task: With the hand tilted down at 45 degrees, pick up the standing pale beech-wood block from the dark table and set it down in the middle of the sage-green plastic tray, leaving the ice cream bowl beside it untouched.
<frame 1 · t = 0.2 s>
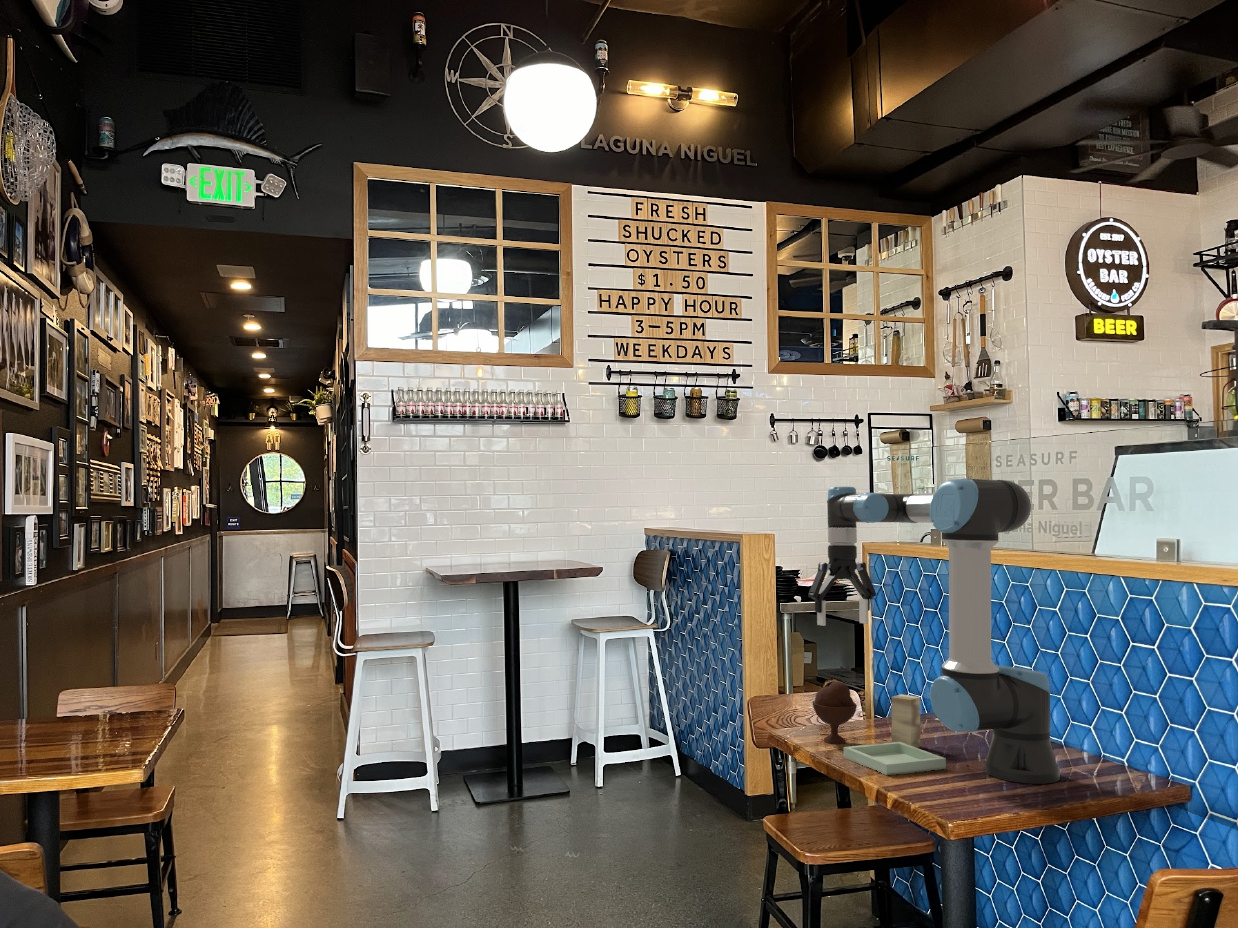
hand: (842, 624, 243), 28 cm above the table, tool pointing down, fingers open, 13 cm apart
ice cream bowl: (834, 742, 229), on the table
block: (906, 746, 225), on the table
tray: (893, 763, 209), on the table
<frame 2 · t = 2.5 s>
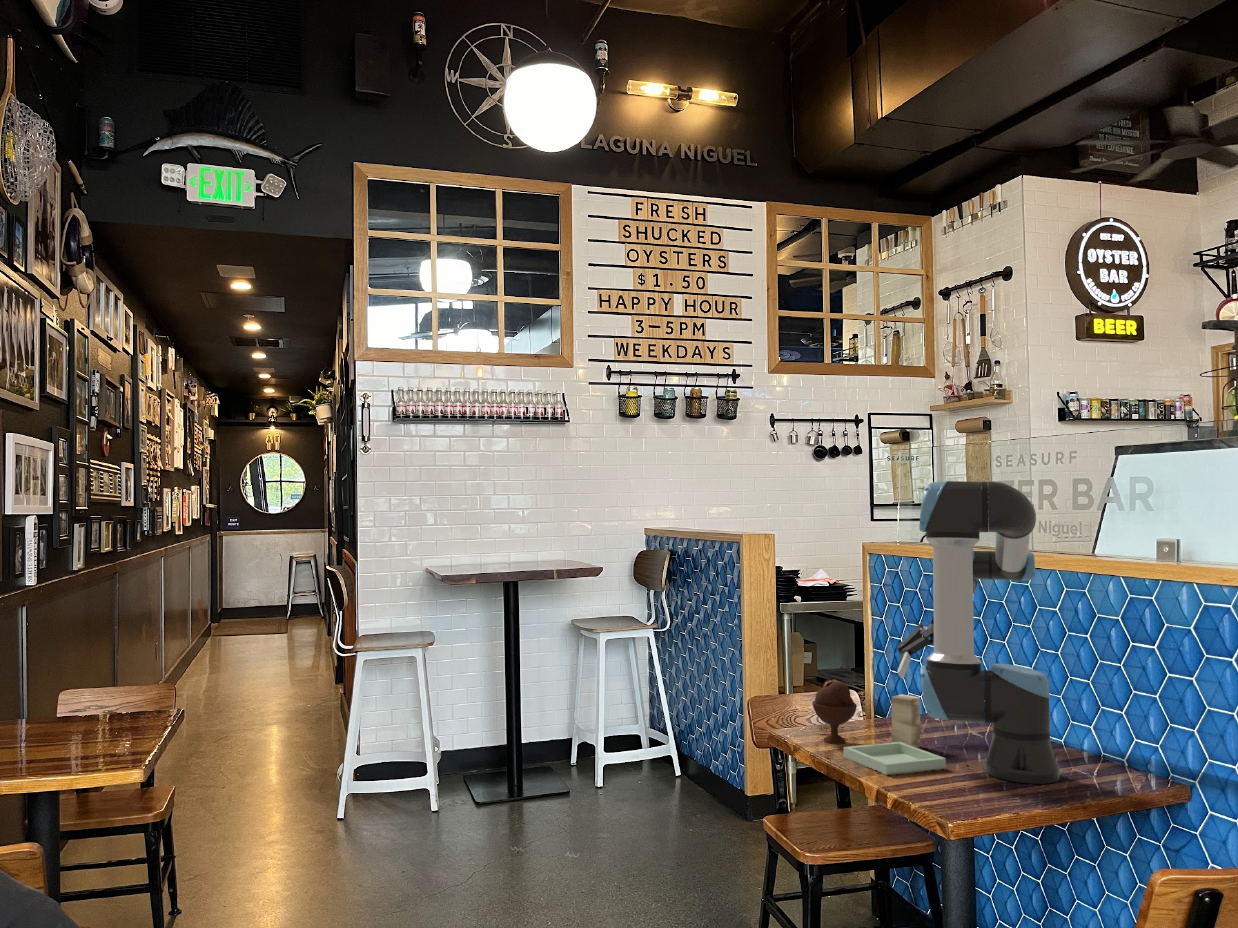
hand: (924, 678, 233), 15 cm above the table, tool tilted 45°, fingers open, 13 cm apart
nothing on the table moved.
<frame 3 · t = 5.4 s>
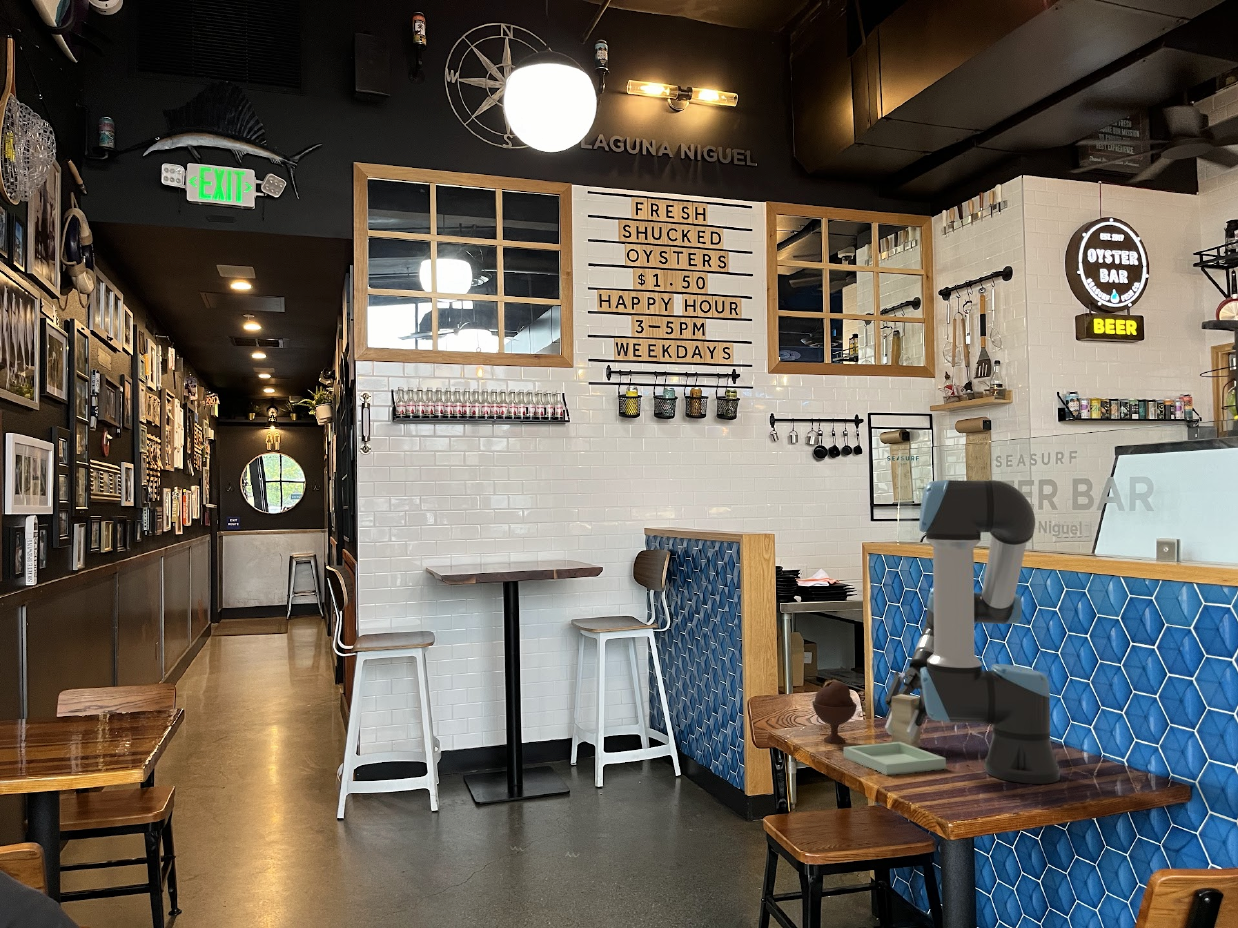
hand: (898, 732, 222), 4 cm above the table, tool tilted 45°, fingers closed on block, 5 cm apart
block: (906, 746, 225), on the table, touching gripper
everything else where it was.
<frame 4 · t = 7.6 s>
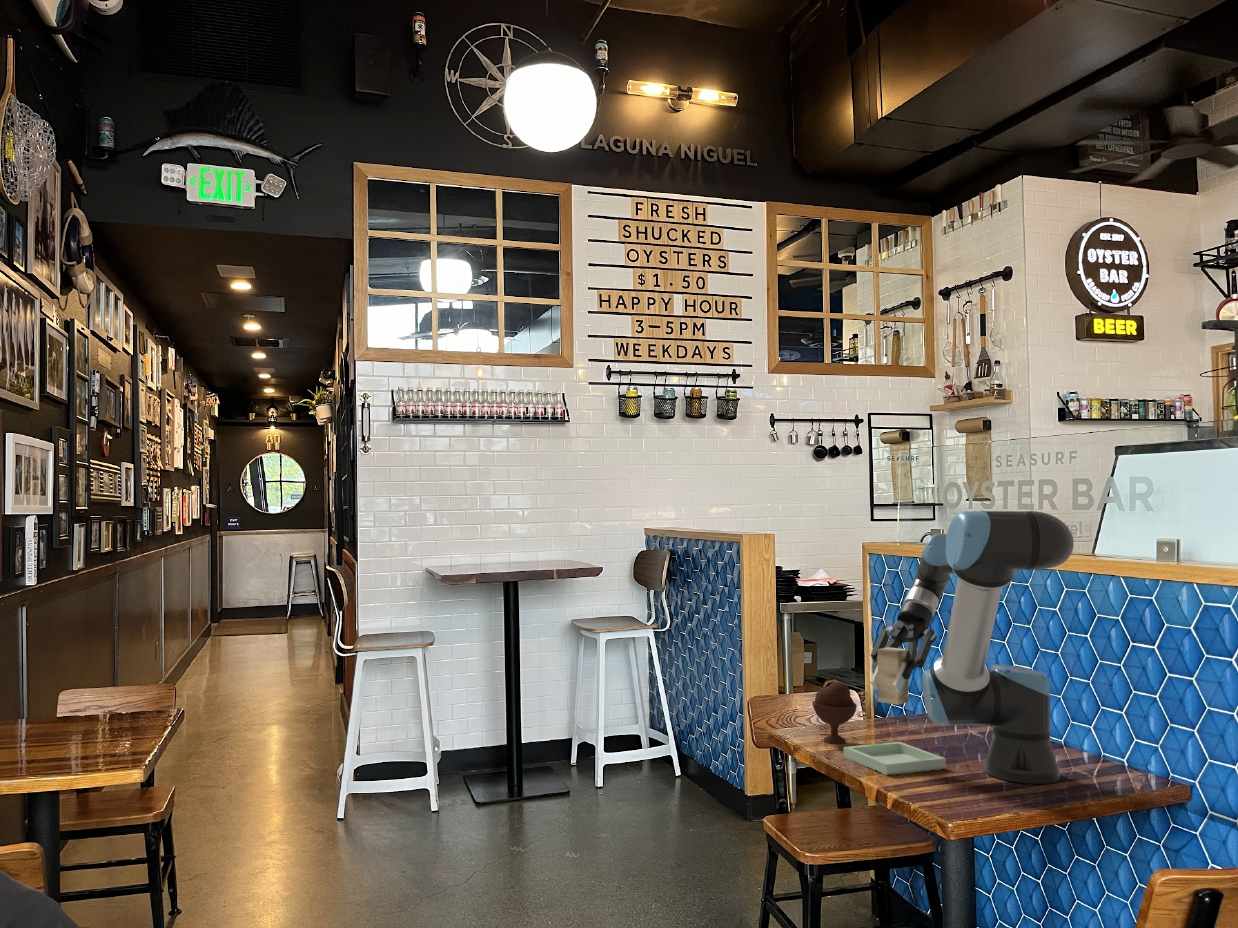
hand: (885, 686, 209), 17 cm above the table, tool tilted 45°, fingers closed on block, 5 cm apart
block: (893, 701, 211), point 14 cm above the table, touching gripper
everything else where it was.
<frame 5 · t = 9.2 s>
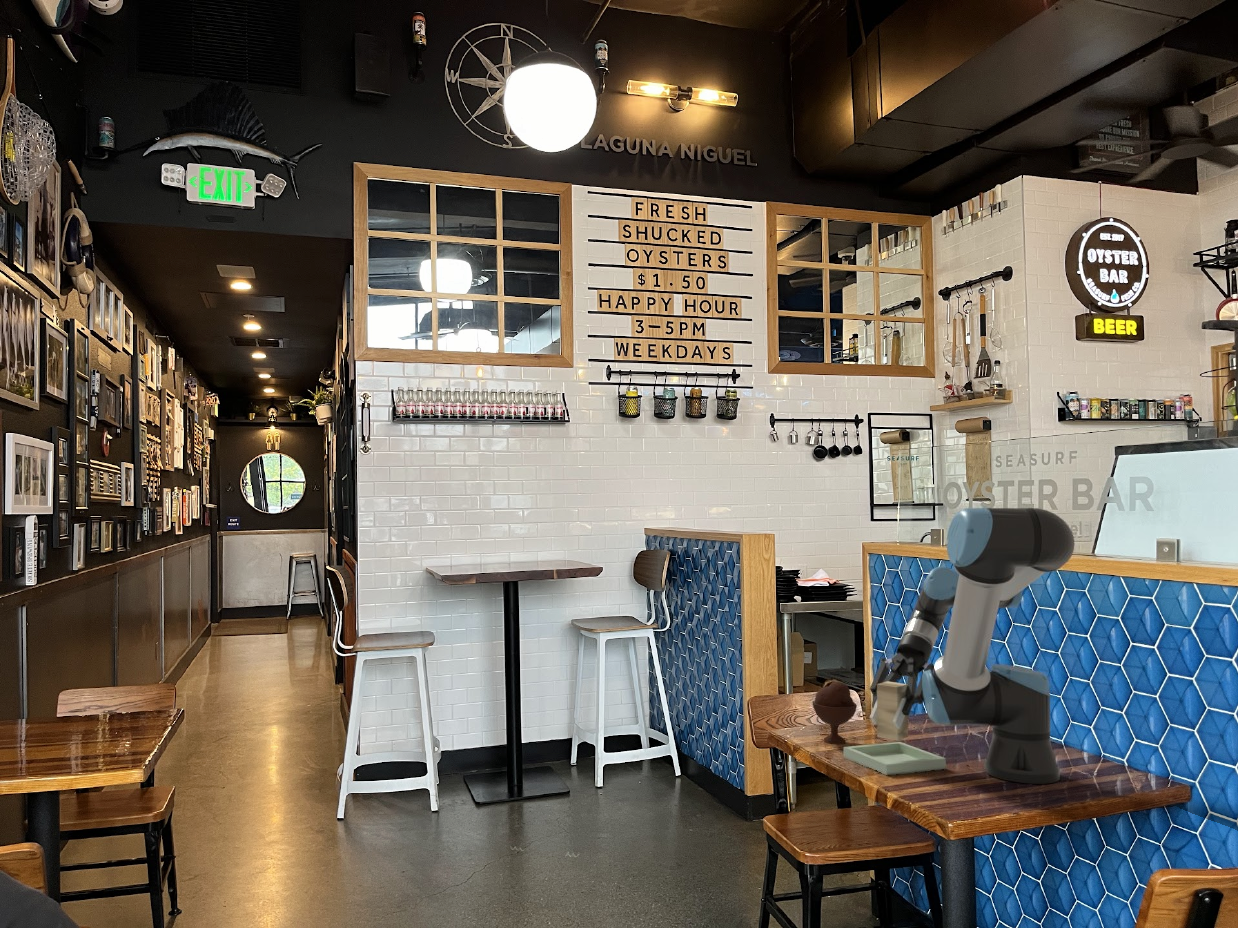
hand: (884, 722, 208), 10 cm above the table, tool tilted 45°, fingers closed on block, 5 cm apart
block: (892, 736, 210), point 6 cm above the table, touching gripper
everything else where it was.
when the fingers open (6 cm above the table, at t = 10.2 s): block drops 2 cm, resting on tray.
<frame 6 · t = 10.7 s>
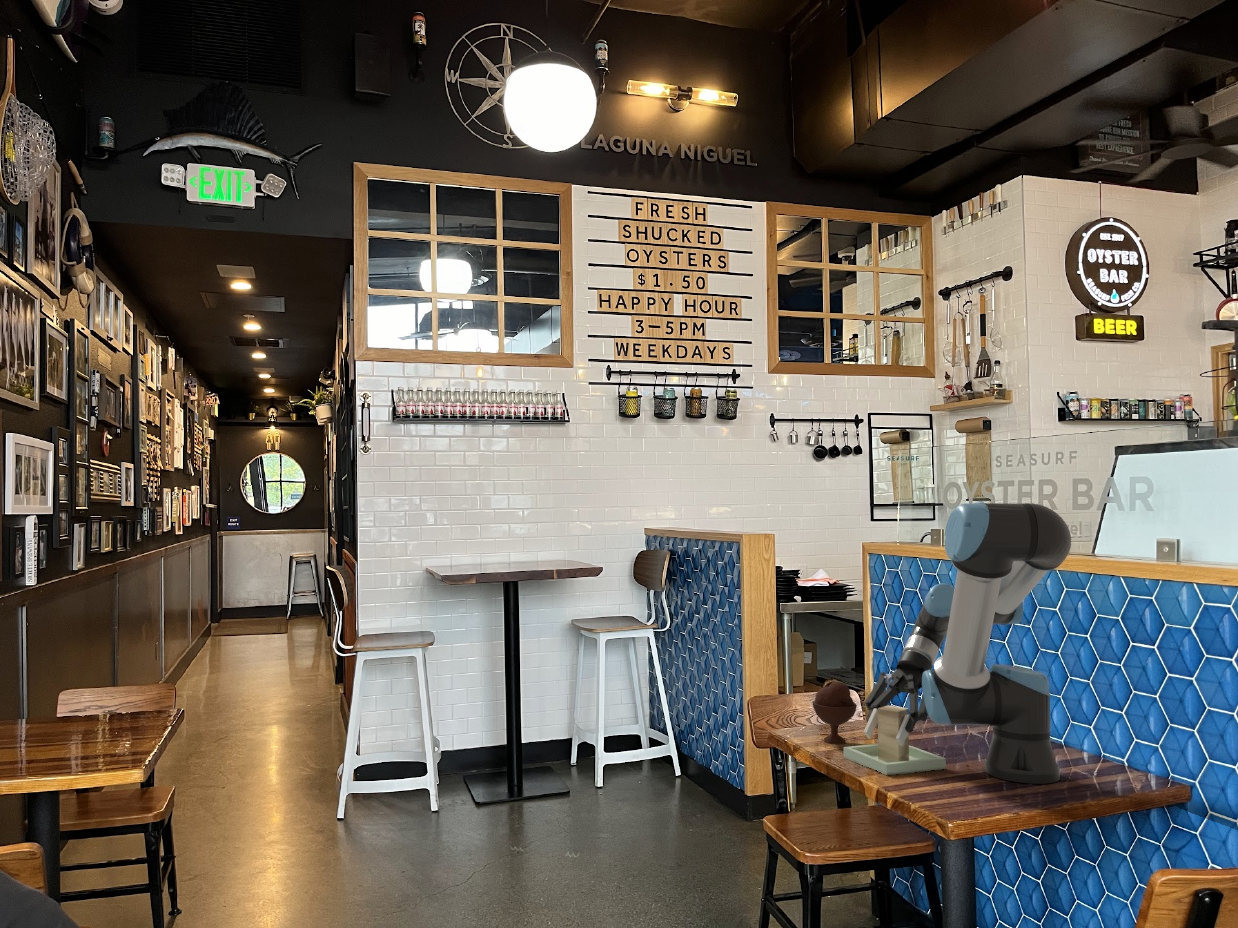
hand: (883, 738, 207), 6 cm above the table, tool tilted 45°, fingers open, 7 cm apart
block: (893, 761, 209), resting on tray
everything else where it was.
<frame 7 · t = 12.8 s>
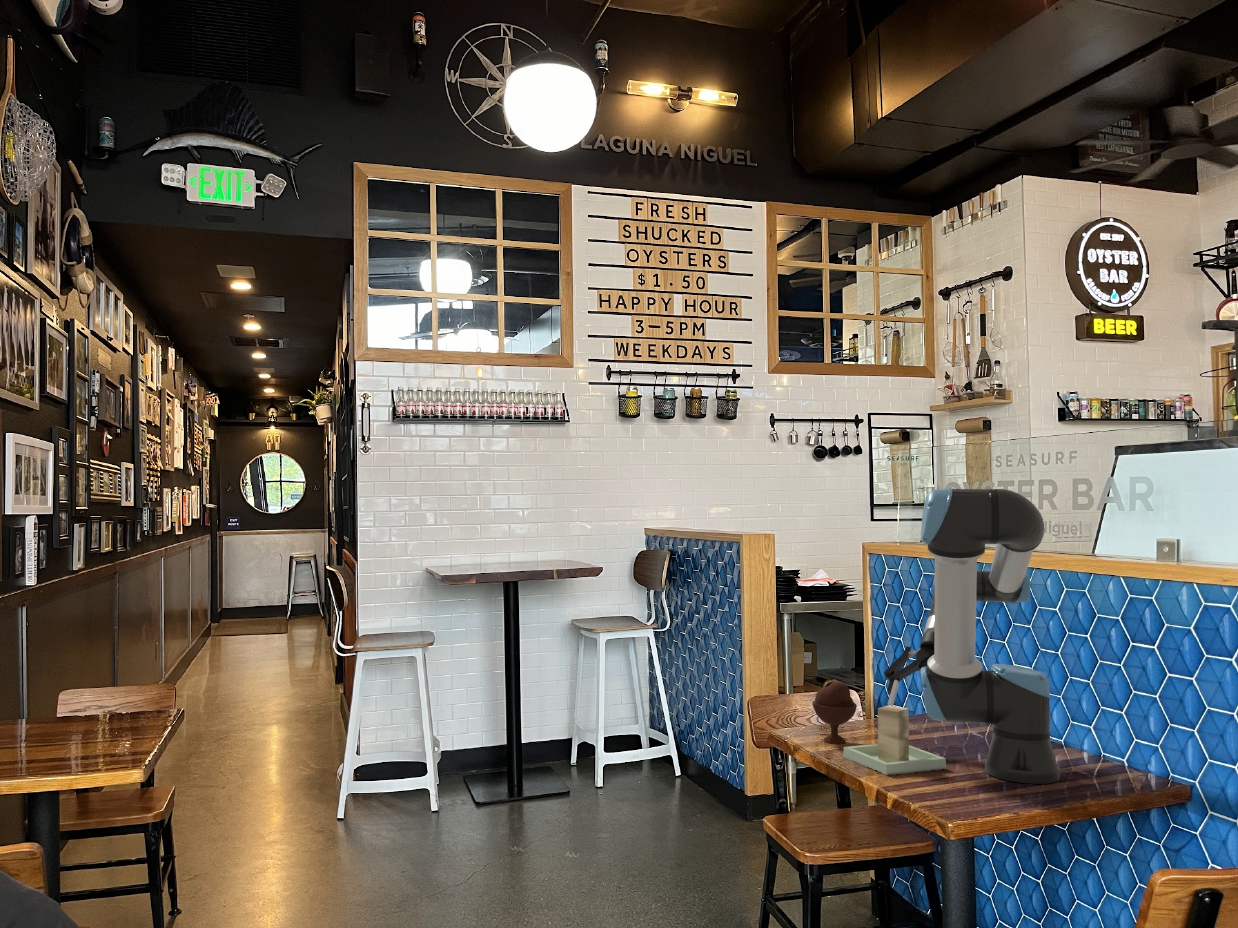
hand: (918, 713, 219), 9 cm above the table, tool tilted 40°, fingers open, 13 cm apart
nothing on the table moved.
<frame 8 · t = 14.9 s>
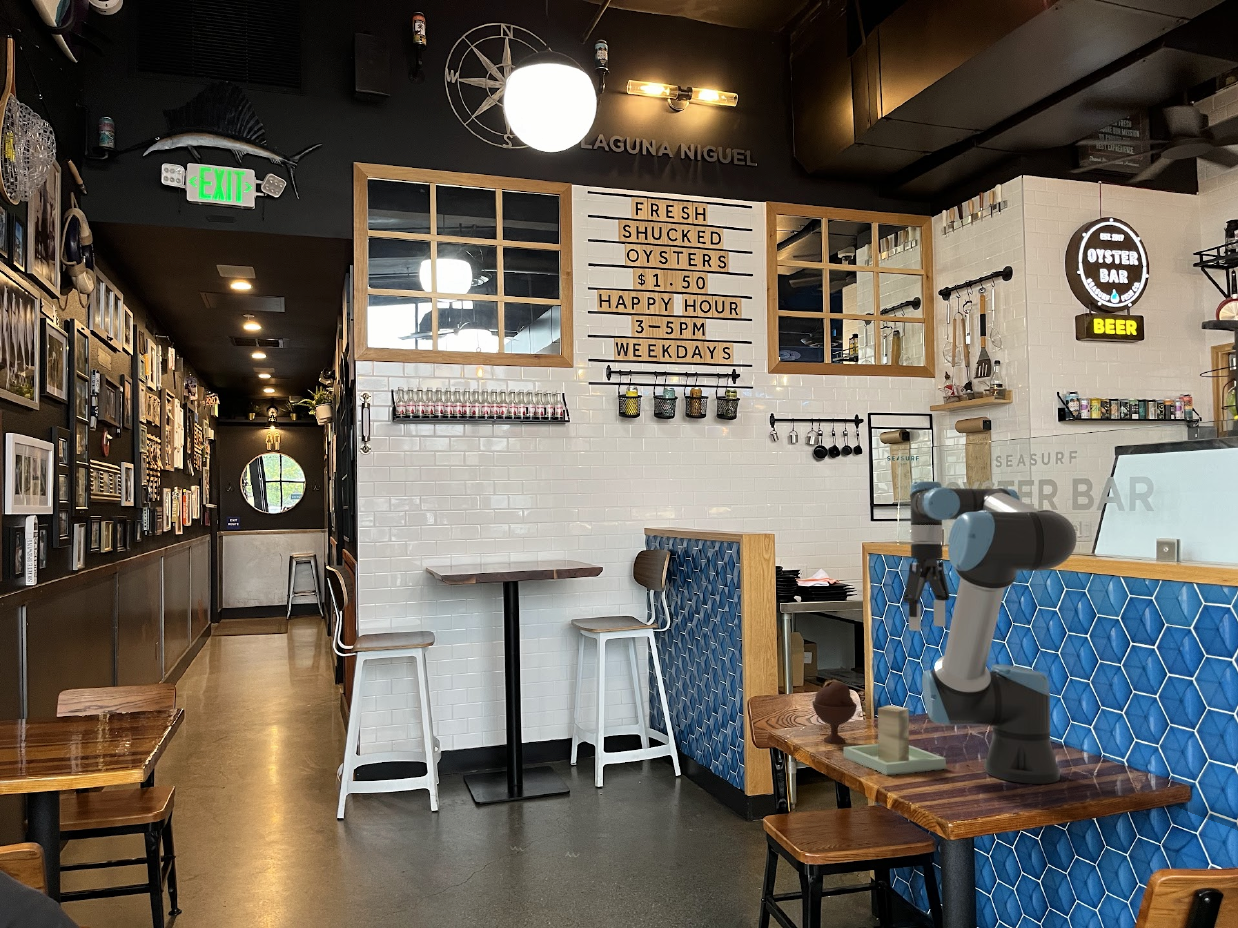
hand: (927, 628, 228), 29 cm above the table, tool pointing down, fingers open, 13 cm apart
nothing on the table moved.
at the end: block 0.0 cm from the tray (horizontally); block resting on tray; block tilted 0° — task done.
